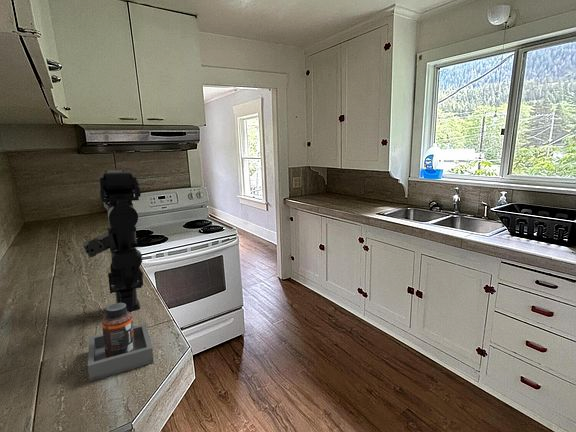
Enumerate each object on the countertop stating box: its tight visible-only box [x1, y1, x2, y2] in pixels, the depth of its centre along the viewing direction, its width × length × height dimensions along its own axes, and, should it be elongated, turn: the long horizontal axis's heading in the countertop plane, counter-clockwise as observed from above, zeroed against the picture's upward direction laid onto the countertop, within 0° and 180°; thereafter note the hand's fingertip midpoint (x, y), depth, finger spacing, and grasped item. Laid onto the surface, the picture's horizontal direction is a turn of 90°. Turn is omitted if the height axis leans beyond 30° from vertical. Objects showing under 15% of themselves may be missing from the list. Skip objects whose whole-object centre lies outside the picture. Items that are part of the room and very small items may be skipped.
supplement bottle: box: [101, 302, 135, 358], centre depth 70 cm, size 6×6×11 cm
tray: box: [87, 323, 154, 382], centre depth 71 cm, size 12×12×4 cm
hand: (127, 282), depth 80 cm, fingers open, 9 cm apart
